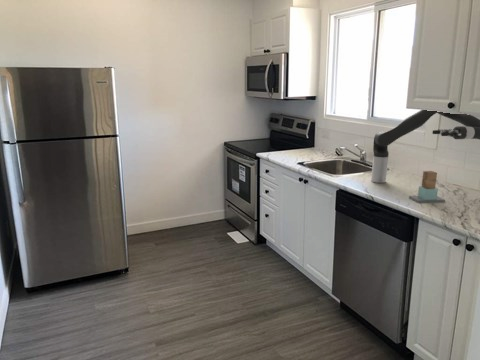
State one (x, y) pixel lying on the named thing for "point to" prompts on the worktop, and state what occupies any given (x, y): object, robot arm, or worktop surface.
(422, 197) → the tower base
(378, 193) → the worktop surface
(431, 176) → the walnut brick
